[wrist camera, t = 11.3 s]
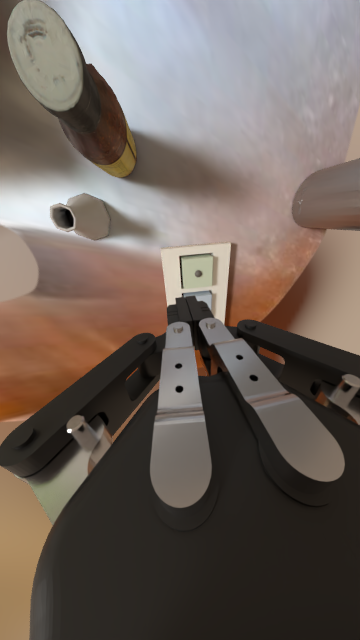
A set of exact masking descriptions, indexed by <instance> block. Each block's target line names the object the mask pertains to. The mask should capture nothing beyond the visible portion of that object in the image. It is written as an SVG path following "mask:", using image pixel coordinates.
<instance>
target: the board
mask: <svg viewBox="0 0 360 640" xmlns="http://www.w3.org/2000/svg"><path fill="white" fill-rule="evenodd" d="M230 250H231V243H230V242H220V243H209V244H198V245H187V246H176V247H165V248H161V257H162V265H163V273H164V281H165V290H166V298H167V306H169V305H173V304H176V301H175V298H178V297H182V293H189V292H198V291H207V290H210V293H211V294H212V301H211V312H212V314H213V315H214V317H215V318H216V319H219V320H220V321H221V322H222V323H223V324H224V321H225V309H226V297H227V285H228V274H229V262H230ZM204 253H211V256H212V257H213V271H212V286H208V287H199V288H189V289H184V287H183V286H181V276H180V262H179V256H183V255H194V254H204Z"/></svg>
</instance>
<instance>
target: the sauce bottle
mask: <svg viewBox="0 0 360 640" xmlns="http://www.w3.org/2000/svg"><path fill="white" fill-rule="evenodd" d="M7 39H8V46H9V50H10V54H11V58H12V61H13V63H14V65H15V68H16V70H17V72H18V74H19V77H20V79H21V81H22V82H23V84H24V85H25V86H26V88H27V89H28V91H29V92H30V93H31V94H32V95H33V96H34V98H35V99H36V100H37V101H38V102H39V103H40V104H41V105H42V106H43V107H44V108H45V109H47V110H48V111H49V112H50V113H51V114H53V115H55V116H56V117H58V119H59V122H60V124H61V127H62V129H63V131H64V133H65V134H66V136H67V138H68V139H69V141H70V142H71V143H72V145H73V146H74V147H75V148H76V149H77V150H78V151H79V152H80V153H81V154H82V155H83V156H84V157H85V158H87V159H88V160H90V161H91V162H92V163H94V164H95V165H96V166H98V167H99V168H101V169H102V170H104V171H105V172H107V173H108V174H110V175H112V176H114V177H119V178H120V177H124V176H128V175H130V173H131V172H132V171H133V169H134V166H135V163H136V159H137V156H136V146H135V142H134V139H133V137H132V134H131V132H130V129H129V126H128V124H127V121H126V119H125V116H124V113H123V111H122V108H121V106H120V104H119V102H118V100H117V98H116V95H115V94H114V92H113V90H112V89H111V87H110V86H109V85H108V84H107V82H106V81H105V79H104V78H103V77H102V76H101V75H100V74H99V73H98V72H97V70H96V69H95V67H94V66H93V65H92V64H86V62H85V59H84V56H83V54H82V52H81V49H80V47H79V45H78V43H77V42H76V40H75V38H74V36H73V35H72V33H71V31H70V30H69V29H68V27H67V26H66V24H65V22H64V21H63V19H62V18H61V17H60V16H59V15H58V14H57V13H56V12H55V10H54V9H52V8H50V7H49V6H48V5H46V4H45V3H44V2H41V1H38V0H23V1H21V2H20V3H18V4H17V5H16V6H15V8H14V9H13V10H12V13H11V15H10V18H9V20H8V30H7Z"/></svg>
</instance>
